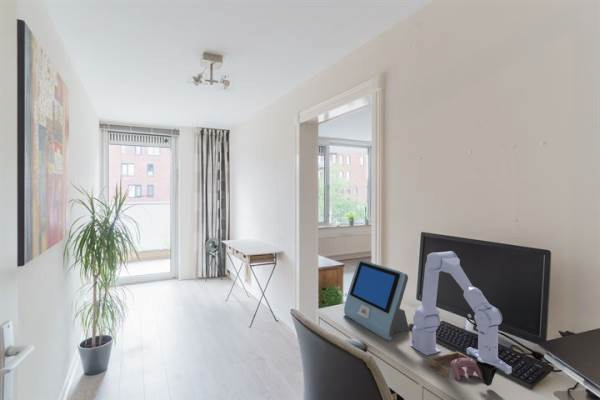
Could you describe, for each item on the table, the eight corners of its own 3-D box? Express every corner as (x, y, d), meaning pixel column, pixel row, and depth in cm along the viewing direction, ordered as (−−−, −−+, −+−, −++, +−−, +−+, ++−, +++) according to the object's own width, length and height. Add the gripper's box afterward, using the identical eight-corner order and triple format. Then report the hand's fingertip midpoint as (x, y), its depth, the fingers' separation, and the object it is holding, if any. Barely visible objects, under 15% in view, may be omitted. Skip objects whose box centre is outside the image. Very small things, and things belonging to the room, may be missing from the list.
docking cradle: (430, 367, 120) (430, 359, 120) (457, 358, 126) (457, 351, 126) (446, 377, 113) (446, 368, 113) (474, 367, 119) (474, 360, 119)
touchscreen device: (341, 315, 171) (342, 260, 171) (370, 311, 180) (371, 258, 180) (385, 342, 140) (387, 274, 140) (417, 335, 148) (419, 271, 148)
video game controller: (478, 378, 115) (473, 357, 118) (485, 379, 111) (480, 357, 114) (451, 379, 114) (447, 358, 118) (458, 380, 110) (453, 358, 113)
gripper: (460, 337, 111) (460, 375, 112) (501, 356, 98) (501, 399, 98) (474, 333, 114) (474, 371, 115) (515, 351, 101) (515, 393, 101)
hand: (487, 384), depth 107 cm, fingers closed
